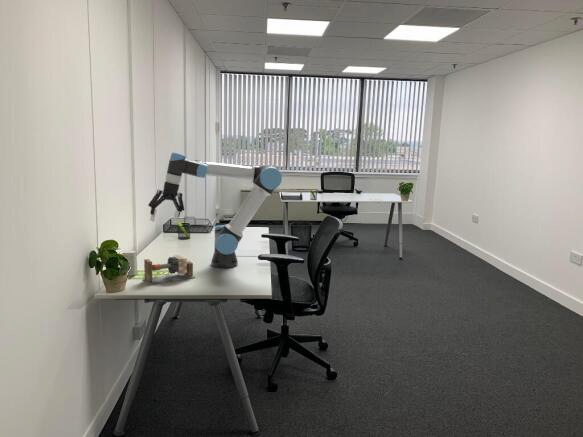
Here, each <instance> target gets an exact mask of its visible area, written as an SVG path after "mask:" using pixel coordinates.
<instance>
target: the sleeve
mask: <svg viewBox="0 0 583 437" xmlns="http://www.w3.org/2000/svg"><path fill="white" fill-rule="evenodd" d="M172 257H174V258H175V260H176V262H178V267H177V269H176V272H175V273H176V274H184V273H187V261H188V258H187V257H185V256H184V255H182V254H176V255H173V256H172Z"/></svg>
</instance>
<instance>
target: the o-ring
mask: <svg viewBox="0 0 583 437" xmlns="http://www.w3.org/2000/svg"><path fill="white" fill-rule="evenodd" d="M168 263H171V264H172V268H167V269H168V272H169V273H170V275H173V274H176V273H177V272H176V269H177V265H176V260H175V258H174V257H173V256H169V257H168V259H167V263H166V264H168Z"/></svg>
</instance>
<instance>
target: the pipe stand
mask: <svg viewBox="0 0 583 437" xmlns="http://www.w3.org/2000/svg"><path fill="white" fill-rule="evenodd" d="M143 262H144V264H143V266H144V270H143V271H144V278H142V281H143V282H144V283H146V284H147V286H151V285H158V284H165V283H171V282H177V281H178V282H179V281H184V280H190V279H195V278H196V277H195V275H194V263H193V262H192V261H190V260H187V273H184V274H178V273H173V274H169V275H167V274H166V275H160V276H154V277H153V272H155V271H161V270H166V269H168V268H172V264H171V263H161V264H160V263H156V264H153V261H152V260H150V259H148V258H145V259H144V260H143ZM176 265H177V267H178V262H176Z"/></svg>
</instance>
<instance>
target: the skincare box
mask: <svg viewBox="0 0 583 437" xmlns="http://www.w3.org/2000/svg"><path fill="white" fill-rule="evenodd" d="M122 255H123V256H125V257H126V258H127V260H128V261H129V264H130V267H131V269H130V271H129V272H128V275H127V276H136V275H137V274H138V258H137V257H138V256H137V250H124V251H123V252H122V253H121V256H122Z"/></svg>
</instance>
